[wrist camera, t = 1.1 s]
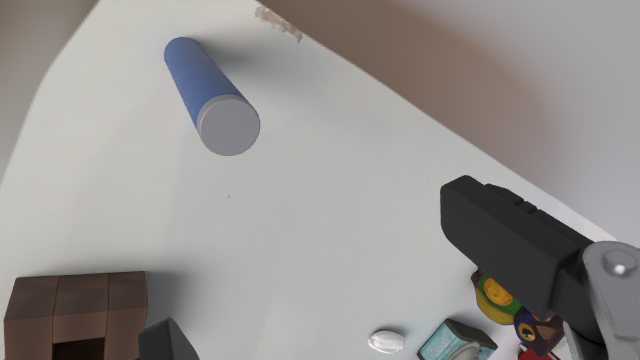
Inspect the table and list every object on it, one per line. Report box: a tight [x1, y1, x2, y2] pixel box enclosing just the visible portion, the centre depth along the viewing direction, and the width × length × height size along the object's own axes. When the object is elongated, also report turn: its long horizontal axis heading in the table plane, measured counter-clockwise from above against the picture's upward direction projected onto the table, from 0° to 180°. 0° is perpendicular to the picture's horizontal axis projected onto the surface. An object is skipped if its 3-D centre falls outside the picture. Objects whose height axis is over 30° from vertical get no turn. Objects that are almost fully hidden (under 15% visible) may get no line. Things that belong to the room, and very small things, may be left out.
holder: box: [4, 271, 148, 360], centre depth 37 cm, size 10×10×5 cm
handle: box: [164, 37, 260, 156], centre depth 25 cm, size 3×3×16 cm
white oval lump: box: [368, 331, 405, 354], centre depth 63 cm, size 3×8×3 cm, turn 54°
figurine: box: [471, 268, 565, 358], centre depth 62 cm, size 10×7×15 cm
